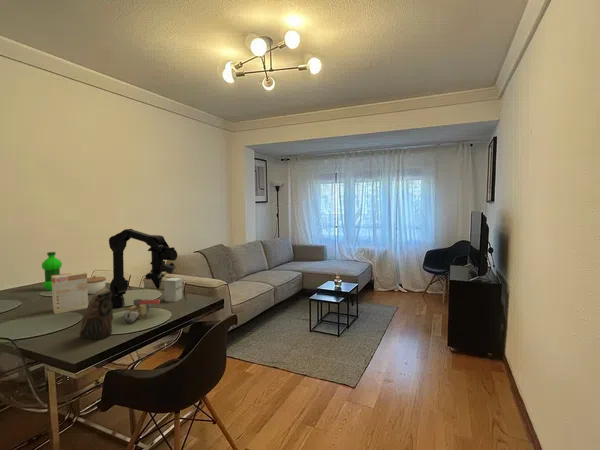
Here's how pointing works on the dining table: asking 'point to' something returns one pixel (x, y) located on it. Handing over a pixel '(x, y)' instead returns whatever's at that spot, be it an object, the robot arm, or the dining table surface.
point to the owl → (98, 316)
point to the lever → (145, 302)
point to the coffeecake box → (69, 292)
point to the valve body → (135, 312)
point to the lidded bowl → (95, 284)
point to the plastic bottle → (51, 269)
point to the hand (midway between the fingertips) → (158, 288)
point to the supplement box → (173, 289)
